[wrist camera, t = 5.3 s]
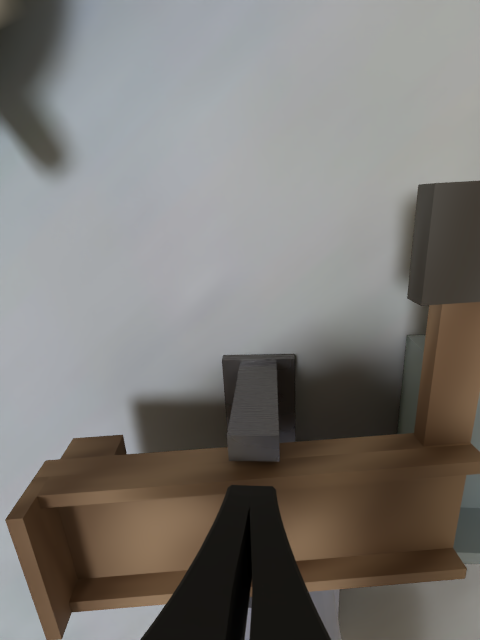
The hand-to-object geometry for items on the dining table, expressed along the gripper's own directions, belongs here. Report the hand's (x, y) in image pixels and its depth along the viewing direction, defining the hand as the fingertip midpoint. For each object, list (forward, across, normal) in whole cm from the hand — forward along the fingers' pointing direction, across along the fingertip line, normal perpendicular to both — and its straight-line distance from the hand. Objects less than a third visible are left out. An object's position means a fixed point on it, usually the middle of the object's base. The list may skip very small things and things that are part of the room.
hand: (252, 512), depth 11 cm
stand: (+10, 0, +4) cm, 11 cm away
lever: (+7, 0, -1) cm, 7 cm away
